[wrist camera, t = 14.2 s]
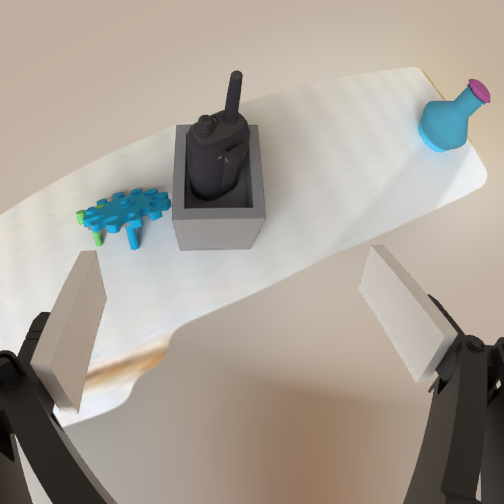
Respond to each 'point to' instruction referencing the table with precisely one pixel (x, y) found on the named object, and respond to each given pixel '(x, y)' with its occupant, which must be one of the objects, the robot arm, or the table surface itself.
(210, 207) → the charging dock
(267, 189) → the table surface
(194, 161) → the two-way radio
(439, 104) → the perfume bottle
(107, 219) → the gear
